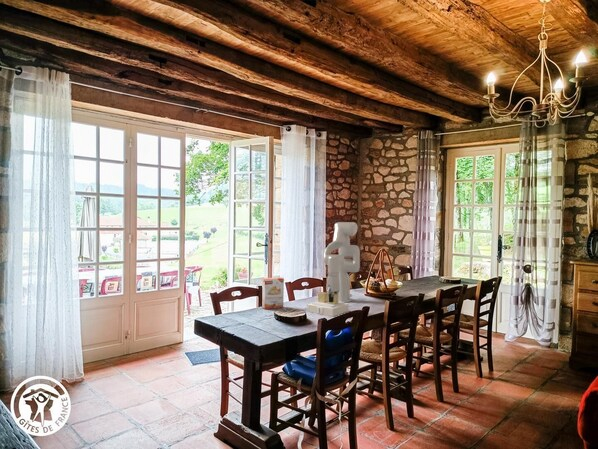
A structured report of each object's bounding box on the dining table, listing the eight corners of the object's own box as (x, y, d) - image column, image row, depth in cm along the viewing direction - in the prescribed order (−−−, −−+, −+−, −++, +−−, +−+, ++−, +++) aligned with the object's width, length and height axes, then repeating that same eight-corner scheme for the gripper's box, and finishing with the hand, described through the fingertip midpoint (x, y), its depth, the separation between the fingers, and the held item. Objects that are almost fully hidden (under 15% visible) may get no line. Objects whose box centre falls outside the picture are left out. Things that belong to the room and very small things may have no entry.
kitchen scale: (323, 306, 290) (323, 298, 290) (348, 310, 278) (348, 302, 278) (306, 312, 273) (306, 303, 273) (332, 316, 261) (332, 307, 261)
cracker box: (264, 309, 280) (264, 279, 280) (262, 307, 286) (262, 277, 285) (283, 308, 285) (284, 278, 285) (281, 306, 291) (281, 276, 290)
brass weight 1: (322, 300, 282) (322, 292, 282) (328, 301, 279) (328, 292, 279) (318, 301, 278) (318, 293, 278) (324, 302, 275) (324, 293, 275)
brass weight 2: (332, 301, 277) (332, 292, 277) (338, 302, 274) (338, 293, 274) (328, 302, 273) (328, 294, 273) (334, 303, 270) (334, 294, 270)
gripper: (335, 272, 282) (335, 298, 282) (321, 275, 268) (321, 302, 269) (344, 273, 278) (344, 300, 278) (331, 276, 264) (331, 304, 264)
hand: (333, 301), depth 273 cm, fingers closed on brass weight 2, 4 cm apart
